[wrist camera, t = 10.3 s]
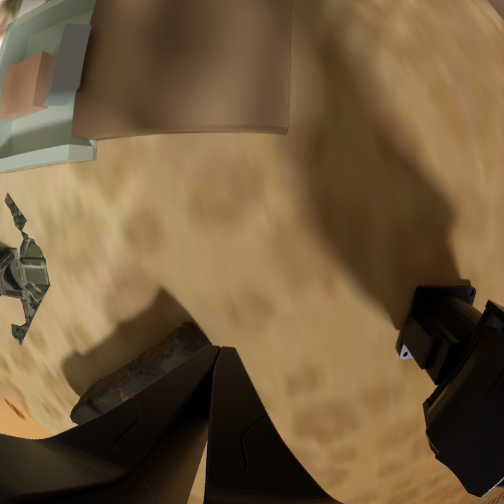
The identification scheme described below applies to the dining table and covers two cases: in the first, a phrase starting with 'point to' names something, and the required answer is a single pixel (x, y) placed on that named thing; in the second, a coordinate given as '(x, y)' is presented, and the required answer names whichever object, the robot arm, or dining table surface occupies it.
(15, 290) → the eiffel tower figurine
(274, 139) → the dining table surface
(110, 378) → the hand tool
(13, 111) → the tile terracotta
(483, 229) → the dining table surface
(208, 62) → the plate
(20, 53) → the tray
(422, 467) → the dining table surface
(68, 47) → the tile slate
